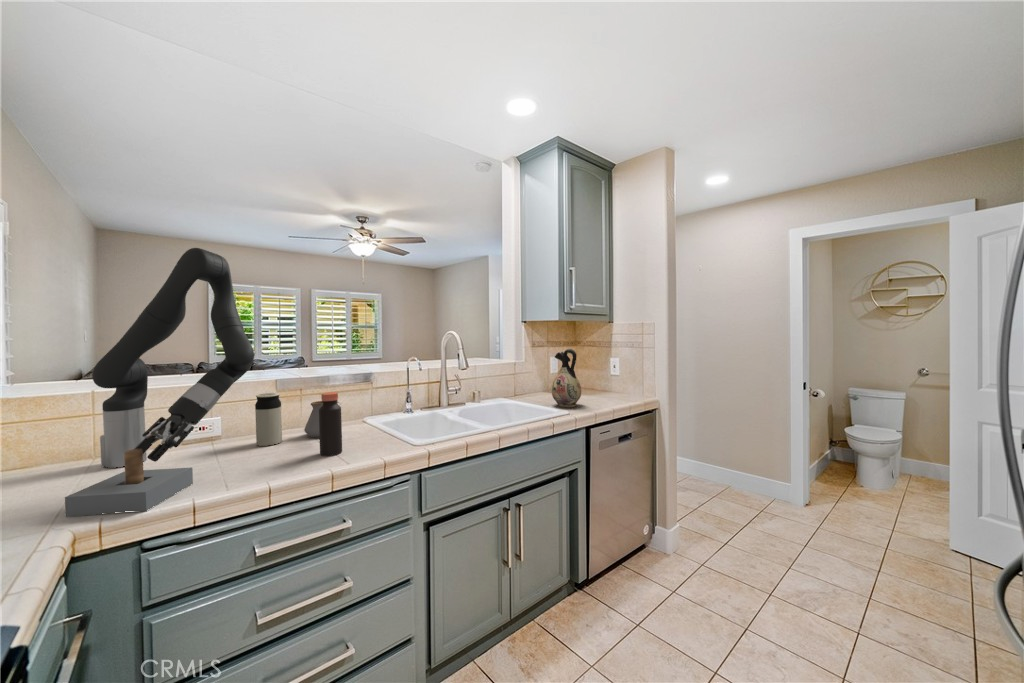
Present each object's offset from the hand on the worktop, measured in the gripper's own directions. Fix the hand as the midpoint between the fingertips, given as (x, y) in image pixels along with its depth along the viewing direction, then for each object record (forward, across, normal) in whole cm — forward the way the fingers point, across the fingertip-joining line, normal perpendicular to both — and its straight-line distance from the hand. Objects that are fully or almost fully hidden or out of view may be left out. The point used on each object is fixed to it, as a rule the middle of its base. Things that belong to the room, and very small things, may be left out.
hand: (143, 457), depth 97 cm
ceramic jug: (-99, +60, +112) cm, 161 cm away
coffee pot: (-32, -5, +46) cm, 57 cm away
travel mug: (-22, -17, +36) cm, 46 cm away
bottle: (-24, +14, +38) cm, 46 cm away
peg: (+8, 0, +6) cm, 10 cm away
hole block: (+8, 0, +6) cm, 10 cm away
